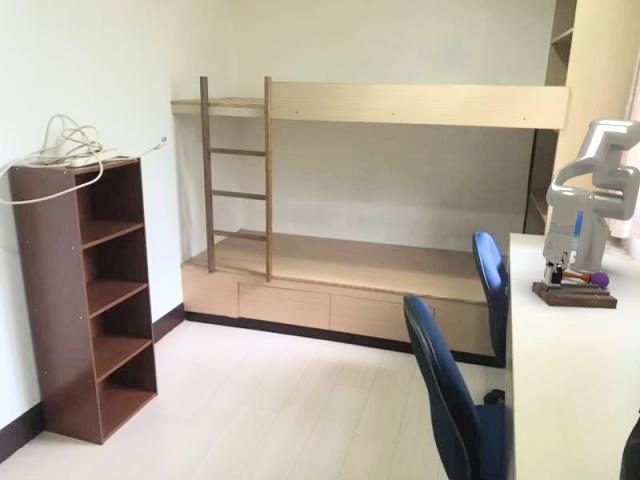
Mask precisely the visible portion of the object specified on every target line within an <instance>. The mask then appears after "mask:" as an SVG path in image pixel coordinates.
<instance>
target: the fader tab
mask: <svg viewBox="0 0 640 480" xmlns="http://www.w3.org/2000/svg"><path fill="white" fill-rule="evenodd" d="M559 266H560V265H558V267H559ZM545 269H546V273H545V272H544V274H545V278H544V279H543V281H540V282H541V287H542V288H543V289H544V290H546V291H549V289H558V290H562V287H561V286H560V284H552V283H551V278H552V273H553V272H554V266H545Z"/></svg>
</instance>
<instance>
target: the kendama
mask: <svg viewBox="0 0 640 480" xmlns="http://www.w3.org/2000/svg"><path fill="white" fill-rule="evenodd" d="M562 278H568V279H569V278H571V279H580V280H581V281H583V282H584V283H585V284H596V285H599V288H601V289H602V290H604V289H605V288H608V286H609V284H610V278H609V276H608V275H607V274H606V273H605V272H604V273H601V272H597V273H595V274H593V275H592V274H591V273H589V274H582V275H579V274H576V273H573V272H568V271H566V270H565V271H564V273H563V275H562Z"/></svg>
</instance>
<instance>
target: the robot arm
mask: <svg viewBox="0 0 640 480" xmlns="http://www.w3.org/2000/svg"><path fill="white" fill-rule="evenodd" d="M639 143H640V121H639V120H635V119H634V120H633V119H621V118H620V119H619V118H607V117H601V118H594V119H592V120H591V121H590V122H589V125H588V129H587V131H586V134H585V136H584V138H583V141H582V143H581V145H580V148H579V151H578V153H577V155H576V158H575V159H573V160H572V161H570V162H568V163H567V164H565V165H564V166H562V167H560V169H558V170H557V171H556V172H555V174H554V176H553V178H552V179H551V181H550V184H549V186H548V190H547V192H546V197H545V198H546V202H547V204H548V205H549V207H552V209H551V216H550V222H549V227H548V231H547V234H546V237H545V241H544V243H543V244H544V246H543V250H542V256H543V258H544V259H545V267H547V266H554V272H553V273H552V278H551V283H552V284H561V283H562V280H563V277H562V275H563V273H564V271H566V270H567V269H568V268H569V269H571V270H572V271H575V272H577V273H581V274H583V275H585V274H589V273H591V274H592V275H593V274H595V273H597V272H601V273H604V274H605V269H604V268H603V267H602V263H603V259H604V255H605V254H604V253H605V250H606V249H605V248H606V244H607V239H608V234H609V226H608V223H607V222H606V219H611V220H616V221H617V220H618V221H622V222H623V221H625V222H627V221H629V220H631V219H632V218H633V216H634V213H635V211H636V206H637V201H638V196H639V192H640V169H639V168H637V167H635V166H631V165H630V166H629V165H624V164H623V165H622V164H621V159H622V154H623V151H624V152H627V151H630V150H631V149H633V148H635V146H637V145H638V144H639ZM589 174H592V175H591V184H592V186H594V187H595V188H597V189H603V190H608V191H609V190H610V191H615V192H620V193H622V194H620V193H613V192H607V191H601V190H594V191H592V190H590V189H587V188H583V187H582V188H581V187H574V186H568V185H563V184H564V183H565V182H567V181H569V180H570V179H573V178H576V177H579V176H584V175H589ZM578 212H583V220H582V226H581V231H580V236H579V241H578V246H577V251H575V255H573V256H572V257H573V259H574V262H570V261H571V260H570V259H571V255H572V250H571V249H572V237H573V236H572V235H574V230H575V225H576V220H577V215H578ZM569 262H570V263H569ZM558 266H559V267H558ZM545 273H546V268H545V269H544V274H543V275H544V276H543V278H544V279H545Z"/></svg>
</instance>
